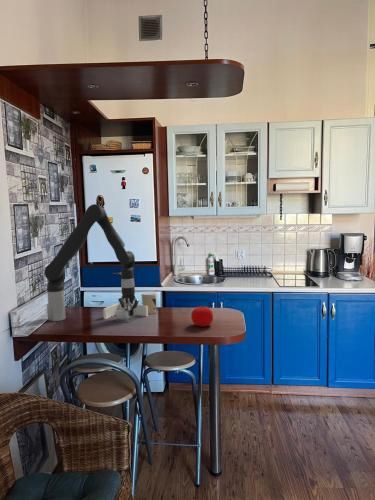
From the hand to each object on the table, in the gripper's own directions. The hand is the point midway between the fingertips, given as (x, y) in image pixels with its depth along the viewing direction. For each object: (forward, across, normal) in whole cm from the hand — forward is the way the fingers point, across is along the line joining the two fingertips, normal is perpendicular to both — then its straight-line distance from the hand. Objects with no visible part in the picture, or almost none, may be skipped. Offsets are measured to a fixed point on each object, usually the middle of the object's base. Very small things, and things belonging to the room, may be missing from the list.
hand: (129, 315), depth 217 cm
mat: (+2, +1, +1) cm, 3 cm away
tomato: (+2, -45, -3) cm, 45 cm away
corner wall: (+2, +4, -2) cm, 5 cm away
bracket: (+2, +2, 0) cm, 3 cm away
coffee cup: (+2, -4, -16) cm, 17 cm away
